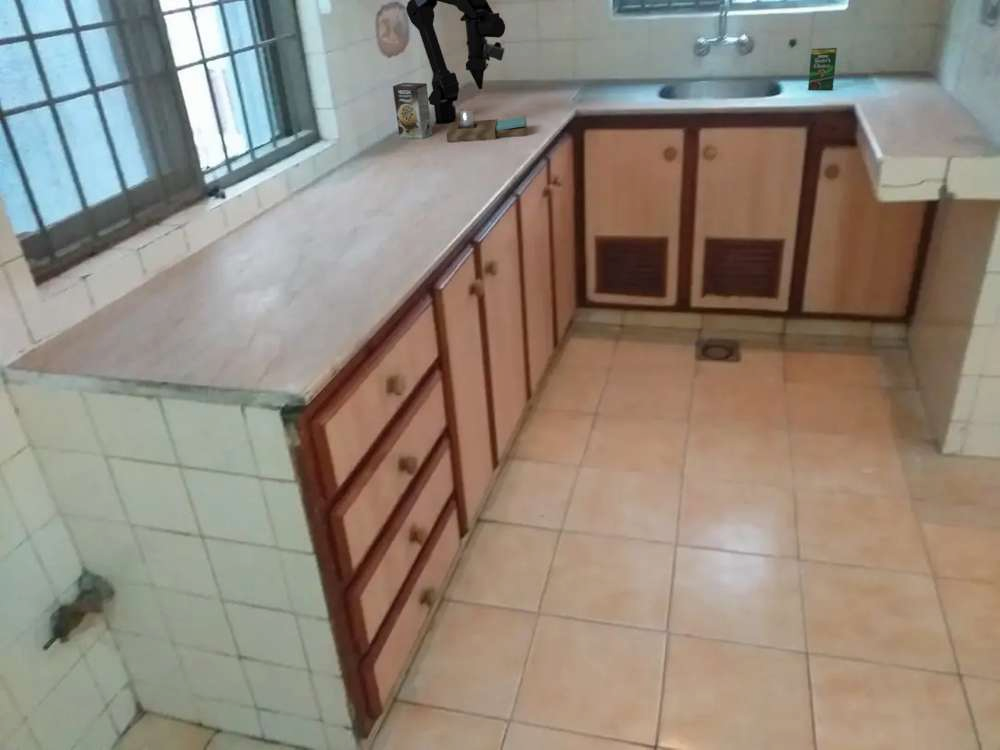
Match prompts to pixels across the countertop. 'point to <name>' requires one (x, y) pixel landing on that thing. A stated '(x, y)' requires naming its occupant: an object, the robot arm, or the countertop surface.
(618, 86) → the countertop surface
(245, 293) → the countertop surface
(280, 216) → the countertop surface
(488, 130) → the socket block
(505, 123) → the latch flap
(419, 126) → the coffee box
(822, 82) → the coffee box
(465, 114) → the peg
